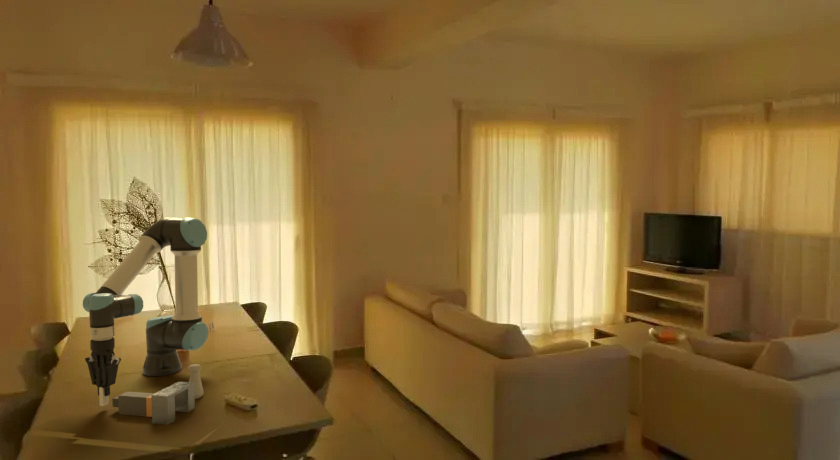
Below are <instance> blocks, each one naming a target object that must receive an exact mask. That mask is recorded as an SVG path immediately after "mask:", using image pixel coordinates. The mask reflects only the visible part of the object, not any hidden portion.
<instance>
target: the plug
mask: <svg viewBox="0 0 840 460" xmlns="http://www.w3.org/2000/svg"><path fill="white" fill-rule="evenodd" d="M152 394H154V393H150V392H142V391H139V392H138V391H127V390H126V391H125V392H123V393H121V394H119V395H117V396H115V397H112V400H111V401H112V408H118V414H119V415H127V416H139V417H151V418H152V399H151V395H152Z"/></svg>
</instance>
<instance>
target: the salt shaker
mask: <svg viewBox="0 0 840 460" xmlns="http://www.w3.org/2000/svg"><path fill="white" fill-rule="evenodd" d="M201 369H202V366H201V365H200V364H199V363H193V364H190V365H188V372H189V373H190V374H189V380H188V382H193V383H194V393H195V400H196V399H197V400H198V399H200V398H202V397H203V396H204V388H203V383H202V377H201V373H200V372H201Z"/></svg>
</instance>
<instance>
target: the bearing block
mask: <svg viewBox="0 0 840 460" xmlns="http://www.w3.org/2000/svg"><path fill="white" fill-rule="evenodd" d="M151 399H152V417H151V424H157V425H166V426H167V425H168V426H169V425H170V424H172V423H173V422H175V421H176V412H179V411H180V413H181V412H182V413H189V412H191V411H193V410H194V409H195V408H196V407H195V406H196V402H195V401H196V399H195V393H194V383H193V382H189V381H177V382H175V383H172V384H171V385H170V386H167V387H164V388H162V389H161V390H158V391H157V392H155V393H154V394H152V395H151Z"/></svg>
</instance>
